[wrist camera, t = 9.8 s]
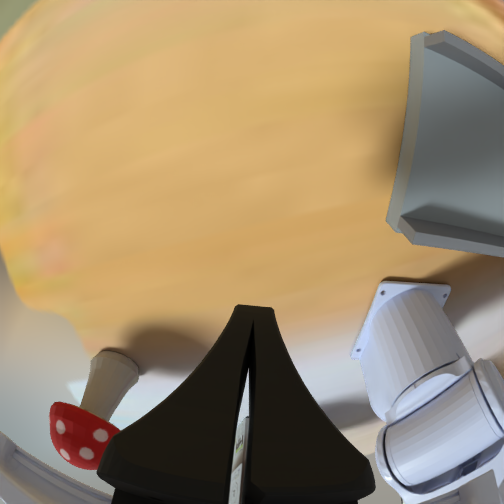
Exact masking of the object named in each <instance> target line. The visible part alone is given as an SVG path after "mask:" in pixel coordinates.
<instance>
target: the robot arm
mask: <svg viewBox="0 0 504 504" xmlns="http://www.w3.org/2000/svg"><path fill="white" fill-rule="evenodd" d="M382 291H384V292H383V293H381V292H382ZM450 292H451V287H450V286H449V285H445V284H428V283H412V282H397V281H382V282H381V283H380V284H379V286H378V289H377V292H376V294H375V297H374V300H373V302H372V305H371V307H370V310H369V312H368V315H367V317H366V320H365V322H364V325H363V327H362V329H361V332H360V334H359V336H358V339H357V341H356V343H355V346H354V348H353V350H352V352H351V355H350V356H351V359H354V360H360V363H361V367H362V371H363V375H364V379H365V384H366V388H367V392H368V397H369V401H370V405H371V407H372V409H373V411H374V412H375V413H376V415H377V416H378V417H379V418H381V419H382V420H383V421H385V422H386V423H387V425H385V426H384V427H383V428H382V429H381V430H380V432H379V434H378V436H377V441H376V448H375V456H376V463H377V466H378V469H379V471H380V473H381V475H382V477H383V478H384V480H385V481H386V482H387V483H388V484H389V485H391V486H392V487H393V488H394V489H395V490H396V491H397V492H398V493H399V495H400V496H401V497H402V499H403V501H404V503H405V504H504V380H503V378H502V376H501V374H500V373H499V371H498V370H497V368H496V367H495V365H494V364H493V363H492V362H491V361H490V360H483V359H482V358H480V359H478V360H477V361H476V362H475V363H474V362H473V361H472V359H471V357H470V355H469V353H468V352H467V350H466V348H465V346H464V344H463V343H462V341H461V339H460V337H459V336H458V334H457V332H456V330H455V329H454V327H453V325H452V324H451V322H450V320H449V319H448V317H447V316H446V314H445V312H444V311H443V309H442V308H443V306H444V304H445V302H446V300H447V298H448V296H449V294H450ZM248 368H249V429H248V440H247V450H246V460H245V470H244V479H243V488H242V497H241V504H358V500H359V499H361V498H364V497H366V496H368V495H370V494H371V493H373V492H374V491H375V488H376V487H375V479H374V475H373V472H372V468H371V465H370V462H369V460H368V459H367V458H366V457H365V456H364V455H363V454H362V453H361V452H359V451H358V450H357V449H356V448H355V447H354V446H353V445H352V444H351V443H350V442H349V441H348V440H347V439H346V438H345V437H344V436H343V434H342V433H341V432H340V431H339V430H338V429H337V428H336V427H335V425H334V424H333V423H332V422H331V421H330V419H329V418H328V417H327V416H326V414H325V413H324V412H323V410H322V409H321V408H320V407H319V405H318V404H317V402H316V401H315V399H314V398H313V397H312V395H311V394H310V392H309V390H308V389H307V387H306V386H305V384H304V382H303V381H302V379H301V377H300V375H299V374H298V372H297V370H296V368H295V366H294V364H293V362H292V360H291V358H290V356H289V353H288V351H287V349H286V346H285V344H284V342H283V339H282V337H281V334H280V331H279V328H278V325H277V321H276V318H275V313H274V310H273V309H272V307H260V306H250V305H239V304H238V305H237V306H235V308H234V311H233V313H232V315H231V317H230V319H229V321H228V323H227V325H226V327H225V328H224V330H223V332H222V333H221V335H220V336H219V338H218V340H217V341H216V343H215V344H214V346H213V347H212V348H211V350H210V351H209V352H208V354H207V355H206V356H205V358H204V359H203V360H202V361H201V363H200V364H199V365H198V366H197V367H196V369H195V370H194V371H193V372H192V373H191V374H190V375H189V376H188V378H187V379H186V380H185V381H184V382H183V383H182V384H181V385H180V386H179V387H178V388H177V389H176V390H174V391H173V392H172V393H171V394H170V395H169V396H168V397H167V398H166V399H165V400H163V401H162V402H161V403H160V404H158V405H157V406H156V407H155V408H153V409H152V410H151V411H149V412H148V413H147V414H146V415H144V416H143V417H142V418H140V419H139V420H137V421H136V422H134V423H133V424H131V425H129V426H128V427H126V428H125V429H123V430H121V431H120V432H118V433H116V434H115V435H113V437H112V438H111V440H110V441H109V443H108V445H107V447H106V449H105V450H104V452H103V455H102V458H101V460H100V463H99V466H98V469H97V475H98V476H99V477H100V478H101V479H102V480H104V481H105V482H107V483H108V484H110V485H111V486H113V487H115V492H114V495H113V496H112V495H109V494H106V493H104V492H101V491H99V490H97V489H94V488H92V487H90V486H88V485H85V484H83V483H81V482H79V481H77V480H75V479H73V478H71V477H69V476H66V475H65V474H63V473H61V472H59V471H57V470H56V469H53V468H52V467H50V466H49V465H47V464H45V463H43V462H42V461H40V460H39V459H37V458H35V457H34V456H32V455H31V454H29V453H27V452H26V451H24V450H23V449H21V448H20V447H19V446H17V445H16V444H15V443H14V442H13V441H12V440H11V439H9V438H8V437H7V436H6V435H4V434H3V433H2V432H1V431H0V498H1V499H2V500H3V501H4V502H5V503H6V504H228V501H229V492H230V483H231V474H232V465H233V456H234V447H235V439H236V430H237V422H238V416H239V411H240V407H241V402H242V397H243V392H244V388H245V383H246V378H247V373H248Z"/></svg>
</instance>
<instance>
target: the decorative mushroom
mask: <svg viewBox="0 0 504 504" xmlns="http://www.w3.org/2000/svg"><path fill="white" fill-rule="evenodd" d="M138 379H139V369H138V366H137V365H136V364H135V363H134V362H133V361H132V360H131V359H129V358H128V357H126V356H124V355H122V354H119V353H117V352H112V351H102V352H99V353H98V354H97V355H96V356H95V357H94V358H93V359H92V360H91V366H90V374H89V379H88V382H87V385H86V389H85V392H84V396H83V399H82V402H81V405H80V407H78V406H75V405H72V404H67V403H63V402H55V403H54V404H53V405H52V406H51V408H50V413H49V422H50V435H51V439H52V442H53V445H54V446H55V448H56V450H57V451H58V453H59V454H60V455H61V456H62V457H63V458H64V459H65V460H66V461H67V462H69V463H70V464H72V465H74V466H76V467H79V468H82V469H87V470H97V469H98V466H99V463H100V460H101V458H102V455H103V452H104V450H105V449H106V447H107V445H108V443H109V441H110V440H111V438H112V437H113V435H115V434H116V433H118V432H120V431H121V430H119V429H118V428H117V427H116V426H114V425H113V424H111V423H110V422H109V420H110V418H111V416H112V414H113V412H114V411H115V409H116V408H117V406H118V405H119V403H120V402H121V400H122V399H123V397H124V396H125V394H126V393H127V392H128V390H129V389H130V388H131V387H132V386H133V385H135V384H136V383H137V382H138Z"/></svg>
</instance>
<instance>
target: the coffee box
mask: <svg viewBox="0 0 504 504" xmlns="http://www.w3.org/2000/svg"><path fill="white" fill-rule="evenodd" d="M248 429H249V418H245V419H244V420H243V421H242V423H241V424H240V425H239V426H238V428H237V430H236V439H235V447H234V456H233V465H232V474H231V483H230V492H229V501H228V504H241V497H242V488H243V479H244V470H245V460H246V450H247V440H248Z"/></svg>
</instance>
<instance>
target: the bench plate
mask: <svg viewBox="0 0 504 504" xmlns="http://www.w3.org/2000/svg"><path fill="white" fill-rule="evenodd" d="M386 222H387V223H388V224H389V225H390V226H391V228H392V229H393V230H394V231H395V232H397V233H403V234H404V235H405V236H406V238H407V239H408V240H409V241H410V242H411V243H412V244H414V245H422V246H429V247H437V248H444V249H451V250H458V251H465V252H472V253H478V254H485V255H491V256H498V257H504V66H503V65H502V64H501V63H499V62H498V61H496V60H495V59H493V58H492V57H490V56H489V55H487V54H486V53H484V52H483V51H481V50H479V49H478V48H476V47H474V46H473V45H471V44H469V43H468V42H466V41H464V40H462V39H460V38H459V37H457V36H455V35H453V34H451V33H449V32H447V31H445V30H443V31H440V32H437V33H434V34H431V35H430V34H428V33H426V32H422V33H420V34H417V35H415V36H412V37H411V51H410V73H409V87H408V98H407V108H406V116H405V124H404V131H403V138H402V145H401V151H400V156H399V162H398V167H397V173H396V178H395V182H394V187H393V192H392V196H391V201H390V205H389V209H388V213H387V217H386Z"/></svg>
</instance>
